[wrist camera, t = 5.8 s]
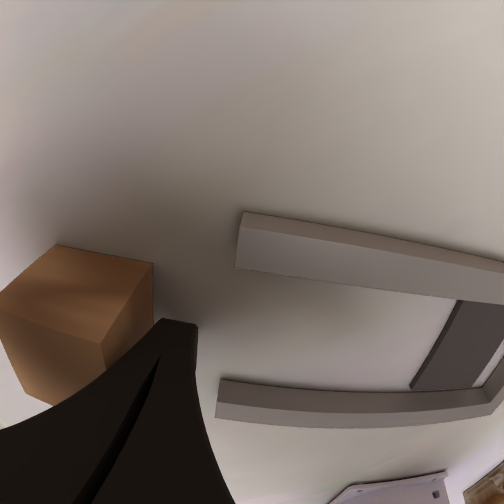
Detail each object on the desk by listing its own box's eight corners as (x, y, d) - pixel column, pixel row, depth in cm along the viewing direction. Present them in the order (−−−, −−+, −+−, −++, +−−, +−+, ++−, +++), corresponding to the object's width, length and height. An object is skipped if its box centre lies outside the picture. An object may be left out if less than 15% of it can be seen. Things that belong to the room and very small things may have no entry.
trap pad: (518, 303, 10) (521, 307, 10) (469, 382, 12) (471, 386, 12) (460, 295, 10) (463, 300, 10) (409, 385, 12) (410, 390, 12)
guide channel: (559, 276, 9) (573, 289, 8) (483, 400, 13) (491, 414, 12) (243, 211, 9) (239, 226, 8) (218, 396, 13) (214, 417, 12)
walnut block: (152, 263, 10) (100, 343, 6) (154, 350, 12) (122, 430, 8) (55, 244, 10) (-13, 303, 6) (70, 328, 12) (25, 393, 8)
